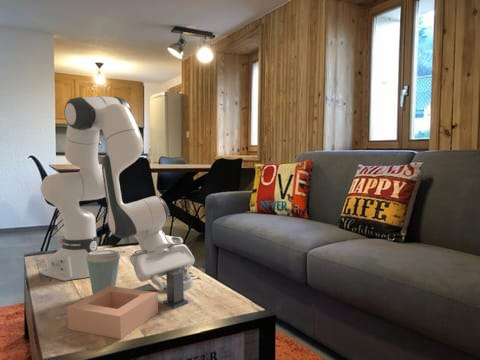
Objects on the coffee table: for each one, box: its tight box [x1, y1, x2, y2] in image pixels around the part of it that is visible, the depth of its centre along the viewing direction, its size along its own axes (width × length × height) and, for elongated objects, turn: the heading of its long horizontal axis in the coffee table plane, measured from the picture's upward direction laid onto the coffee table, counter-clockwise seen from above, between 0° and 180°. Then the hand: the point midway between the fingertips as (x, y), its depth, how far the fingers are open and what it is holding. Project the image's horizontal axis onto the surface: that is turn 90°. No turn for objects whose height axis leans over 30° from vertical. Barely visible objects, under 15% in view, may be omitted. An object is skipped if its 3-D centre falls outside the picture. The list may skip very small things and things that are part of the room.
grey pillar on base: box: [162, 270, 189, 310], centre depth 122 cm, size 5×5×10 cm
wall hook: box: [181, 271, 194, 291], centre depth 137 cm, size 9×10×10 cm
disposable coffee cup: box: [86, 249, 122, 295], centre depth 128 cm, size 11×11×15 cm
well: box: [66, 286, 159, 340], centre depth 110 cm, size 17×17×6 cm
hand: (176, 284), depth 121 cm, fingers open, 8 cm apart
